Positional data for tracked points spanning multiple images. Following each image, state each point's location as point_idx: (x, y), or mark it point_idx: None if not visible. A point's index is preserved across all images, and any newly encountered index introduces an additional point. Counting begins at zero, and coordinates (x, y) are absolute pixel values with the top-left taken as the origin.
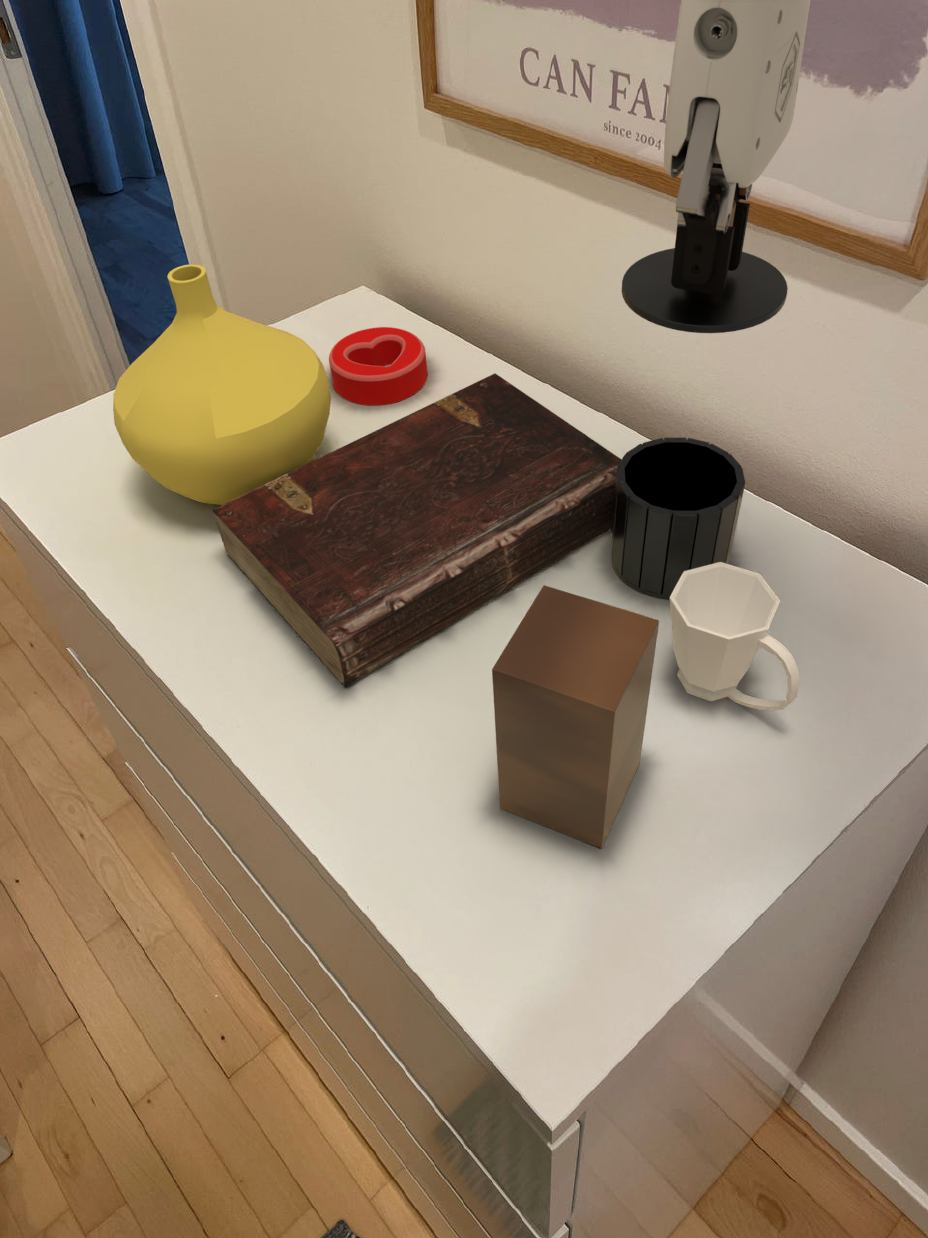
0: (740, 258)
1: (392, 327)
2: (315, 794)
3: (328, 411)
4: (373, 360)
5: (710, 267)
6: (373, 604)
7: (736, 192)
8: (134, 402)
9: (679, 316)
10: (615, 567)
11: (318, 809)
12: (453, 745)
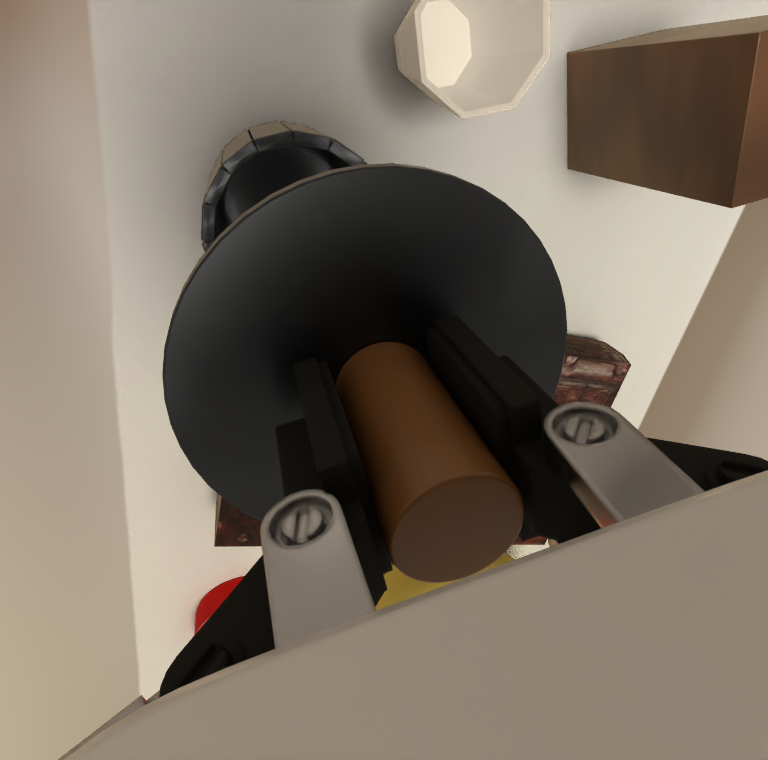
0: (301, 369)
1: None
2: (687, 280)
3: (408, 586)
4: None
5: (522, 370)
6: (579, 376)
7: (361, 531)
8: None
9: (541, 341)
10: None
11: (698, 268)
12: (613, 225)
